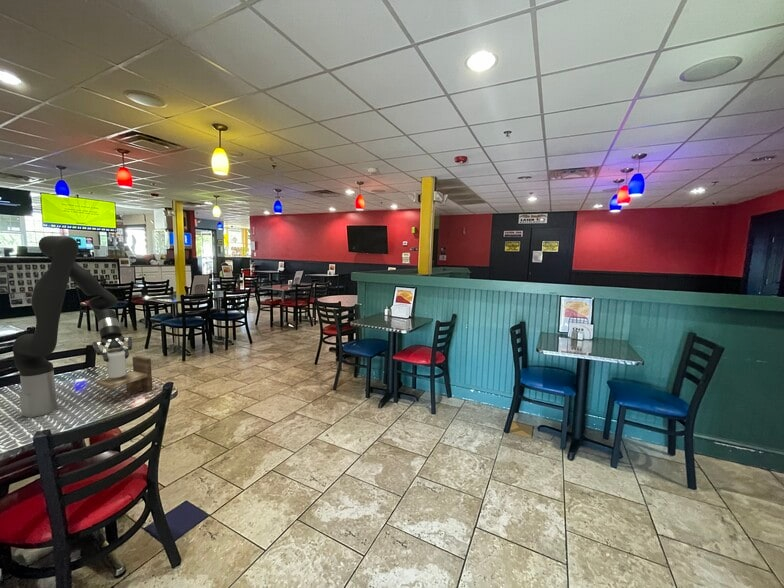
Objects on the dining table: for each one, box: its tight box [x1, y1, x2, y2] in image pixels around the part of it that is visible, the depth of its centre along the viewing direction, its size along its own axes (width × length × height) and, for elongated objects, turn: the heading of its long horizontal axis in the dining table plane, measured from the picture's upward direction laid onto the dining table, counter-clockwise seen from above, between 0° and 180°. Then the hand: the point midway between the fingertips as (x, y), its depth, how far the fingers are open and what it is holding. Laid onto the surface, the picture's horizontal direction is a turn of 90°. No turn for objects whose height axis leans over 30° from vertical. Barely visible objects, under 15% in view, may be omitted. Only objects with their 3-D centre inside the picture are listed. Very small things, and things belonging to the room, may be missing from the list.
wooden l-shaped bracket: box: [96, 355, 154, 396], centre depth 148 cm, size 17×10×16 cm, turn 161°
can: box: [106, 348, 128, 378], centre depth 145 cm, size 6×6×12 cm
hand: (117, 359), depth 143 cm, fingers closed on can, 6 cm apart
